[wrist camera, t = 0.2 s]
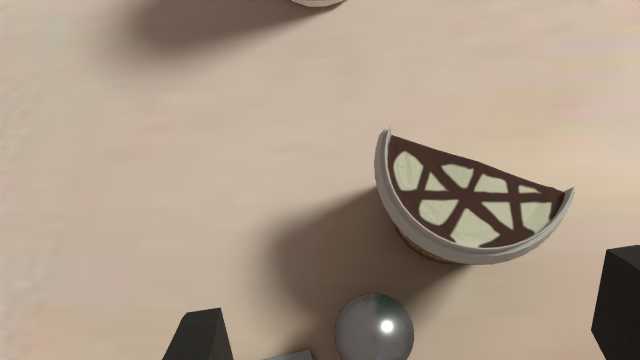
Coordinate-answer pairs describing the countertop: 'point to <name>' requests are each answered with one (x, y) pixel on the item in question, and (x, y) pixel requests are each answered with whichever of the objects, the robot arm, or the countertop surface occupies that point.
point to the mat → (295, 356)
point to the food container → (462, 204)
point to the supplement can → (316, 2)
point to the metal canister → (374, 329)
